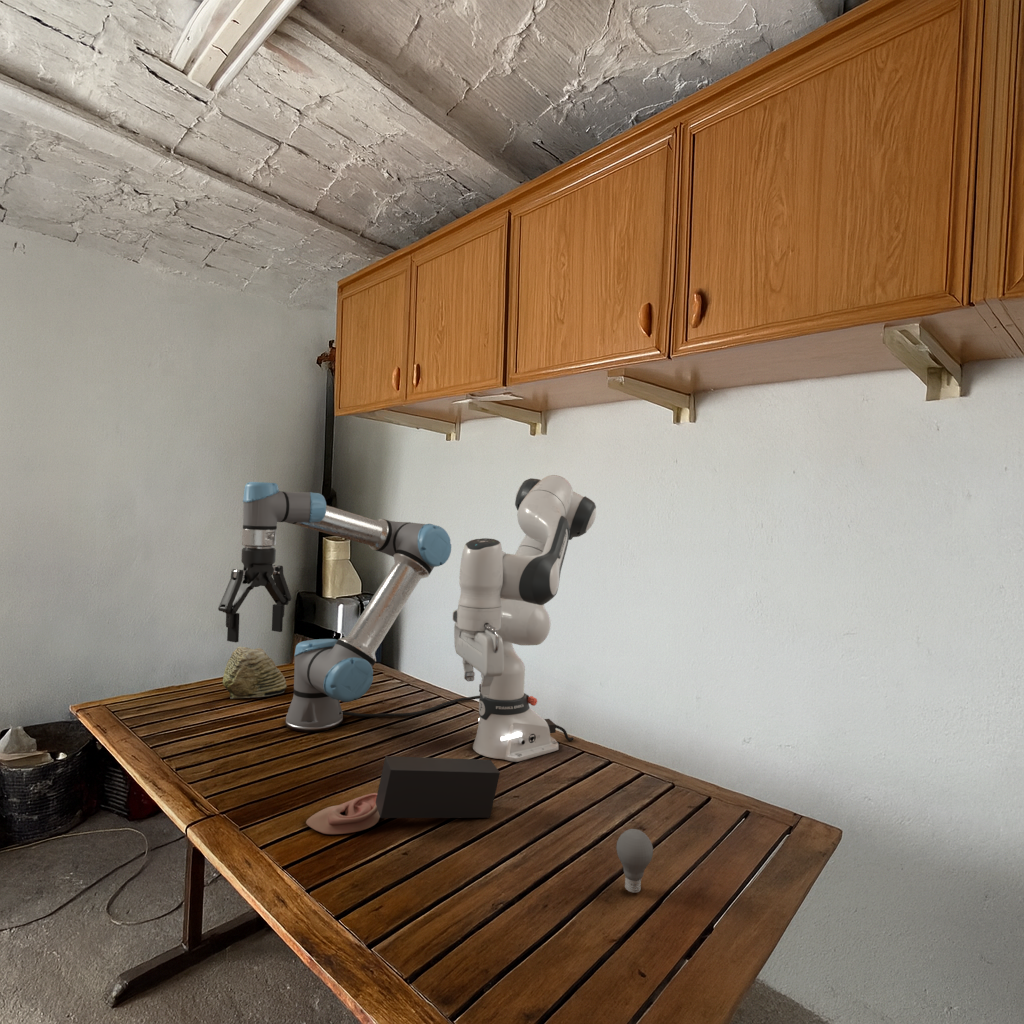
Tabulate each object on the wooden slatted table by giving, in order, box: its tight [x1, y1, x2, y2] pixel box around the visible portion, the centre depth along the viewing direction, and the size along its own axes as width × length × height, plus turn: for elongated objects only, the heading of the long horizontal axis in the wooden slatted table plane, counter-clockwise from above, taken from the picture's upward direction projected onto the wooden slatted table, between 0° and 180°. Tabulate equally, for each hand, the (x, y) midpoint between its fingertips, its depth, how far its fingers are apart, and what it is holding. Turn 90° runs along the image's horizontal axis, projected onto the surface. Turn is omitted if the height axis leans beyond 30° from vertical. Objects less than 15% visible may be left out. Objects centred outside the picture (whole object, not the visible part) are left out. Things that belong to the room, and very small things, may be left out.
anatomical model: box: [305, 792, 381, 835], centre depth 124 cm, size 13×4×12 cm
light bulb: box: [615, 828, 654, 894], centre depth 106 cm, size 6×6×10 cm
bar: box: [376, 755, 501, 819], centre depth 126 cm, size 23×6×10 cm, turn 113°
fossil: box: [222, 646, 288, 699], centre depth 198 cm, size 9×18×15 cm, turn 132°
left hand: (255, 636), depth 151 cm, fingers open, 13 cm apart
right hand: (476, 686), depth 129 cm, fingers open, 8 cm apart
